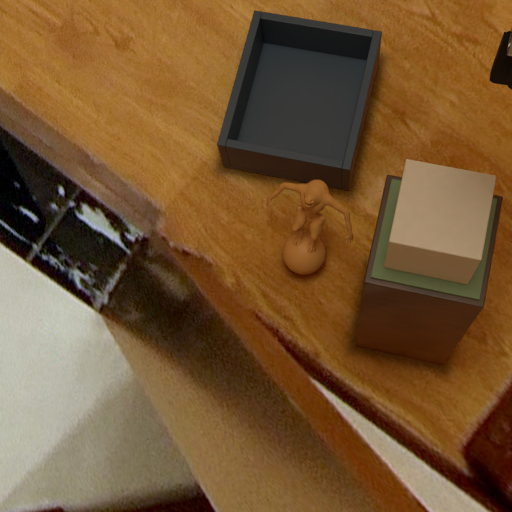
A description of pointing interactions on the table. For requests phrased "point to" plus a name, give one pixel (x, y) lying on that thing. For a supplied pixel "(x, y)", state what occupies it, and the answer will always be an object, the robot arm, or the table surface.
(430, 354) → the stand
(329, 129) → the tray
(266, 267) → the table surface
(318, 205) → the figurine
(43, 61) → the table surface
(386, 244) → the mat
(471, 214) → the beige block
